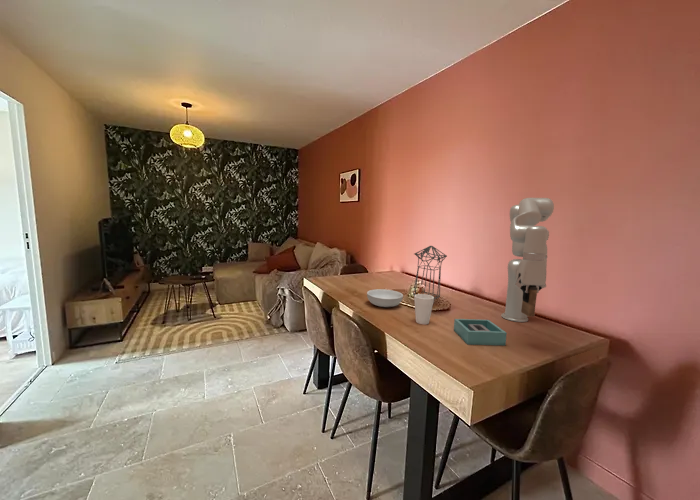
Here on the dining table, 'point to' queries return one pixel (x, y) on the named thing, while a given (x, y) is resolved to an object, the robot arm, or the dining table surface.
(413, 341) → the dining table surface
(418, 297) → the foam cup
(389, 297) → the serving bowl
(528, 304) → the brown rectangular block
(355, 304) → the dining table surface
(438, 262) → the geometric lantern
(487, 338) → the teal shallow tray
